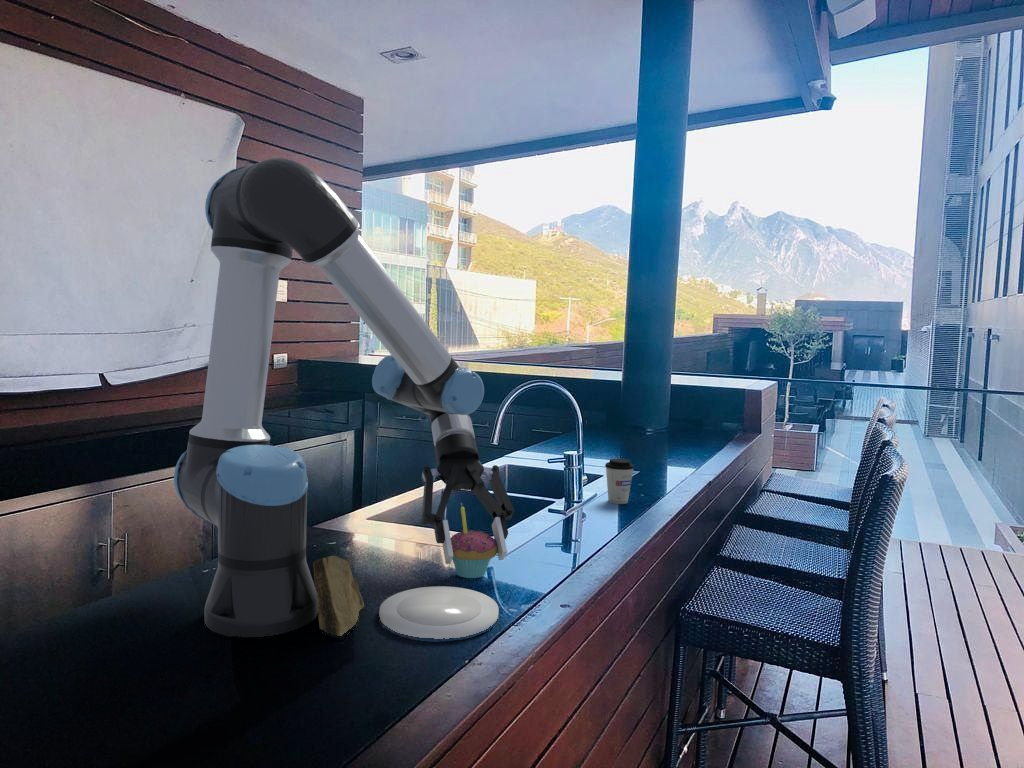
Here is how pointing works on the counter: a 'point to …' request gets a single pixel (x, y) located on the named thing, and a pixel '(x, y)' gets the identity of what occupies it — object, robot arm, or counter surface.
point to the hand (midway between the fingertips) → (476, 557)
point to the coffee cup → (619, 480)
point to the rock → (336, 595)
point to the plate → (439, 612)
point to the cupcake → (472, 551)
